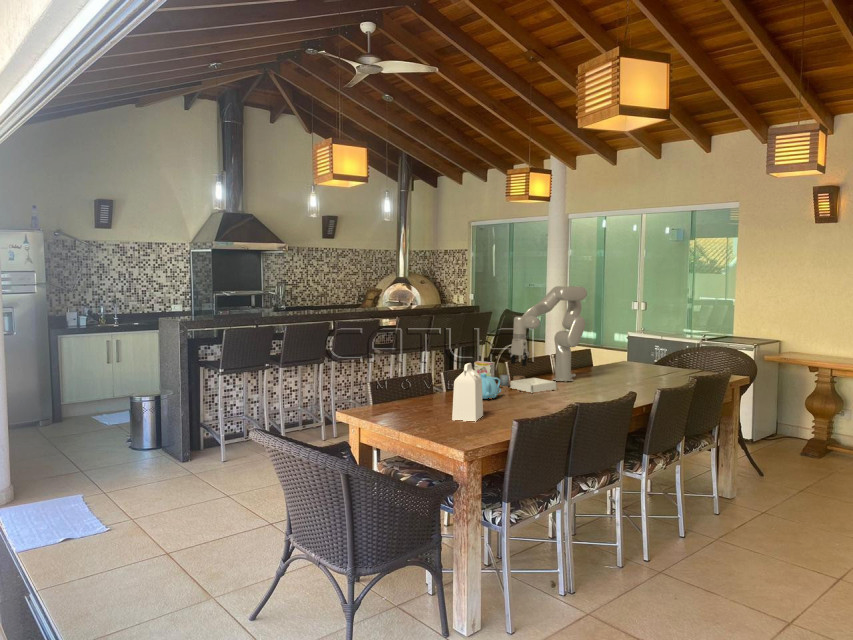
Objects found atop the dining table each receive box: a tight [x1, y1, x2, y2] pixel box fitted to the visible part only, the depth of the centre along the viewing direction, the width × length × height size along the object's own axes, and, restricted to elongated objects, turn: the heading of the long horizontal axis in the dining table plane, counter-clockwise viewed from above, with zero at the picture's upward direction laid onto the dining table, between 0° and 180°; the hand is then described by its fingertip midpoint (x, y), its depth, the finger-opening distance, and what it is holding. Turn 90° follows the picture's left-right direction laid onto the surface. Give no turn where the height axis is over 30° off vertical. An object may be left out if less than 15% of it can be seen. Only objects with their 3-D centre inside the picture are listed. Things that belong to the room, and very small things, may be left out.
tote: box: [509, 377, 558, 393], centre depth 376 cm, size 20×18×5 cm
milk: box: [451, 362, 484, 423], centre depth 304 cm, size 12×12×26 cm
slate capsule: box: [499, 374, 510, 387], centre depth 386 cm, size 5×5×7 cm
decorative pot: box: [480, 373, 502, 400], centre depth 352 cm, size 16×16×14 cm
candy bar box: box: [473, 360, 496, 378], centre depth 376 cm, size 11×5×16 cm, turn 58°
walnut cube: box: [512, 375, 526, 381], centre depth 394 cm, size 5×5×5 cm
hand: (518, 364), depth 393 cm, fingers open, 9 cm apart
